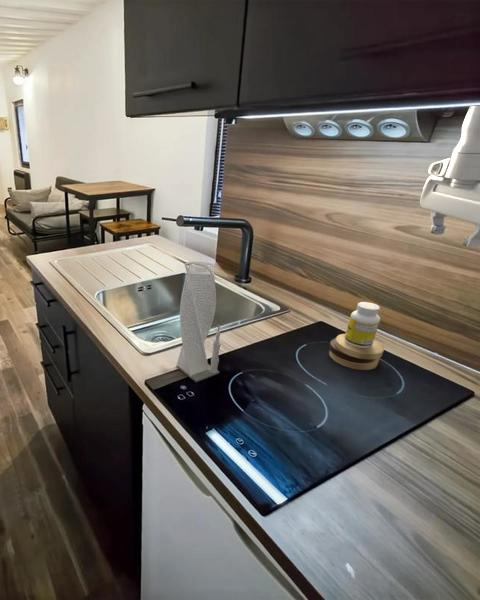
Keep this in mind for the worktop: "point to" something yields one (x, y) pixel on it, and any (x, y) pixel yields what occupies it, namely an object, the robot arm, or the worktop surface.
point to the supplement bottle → (363, 325)
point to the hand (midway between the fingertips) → (452, 239)
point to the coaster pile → (355, 354)
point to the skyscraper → (198, 321)
